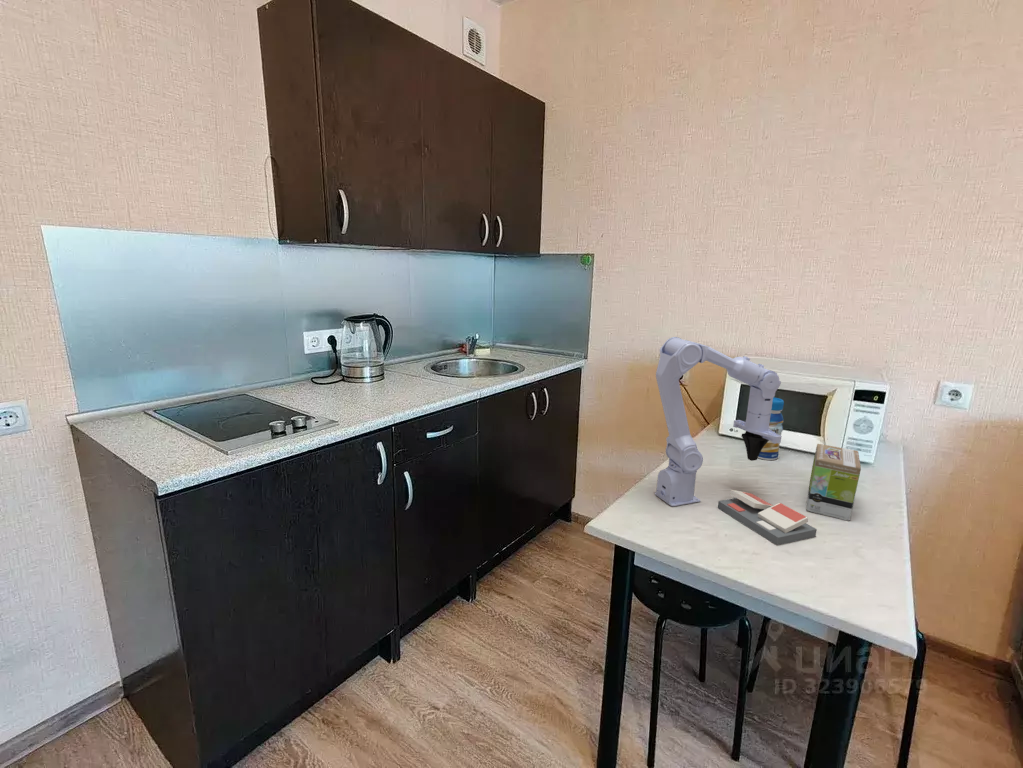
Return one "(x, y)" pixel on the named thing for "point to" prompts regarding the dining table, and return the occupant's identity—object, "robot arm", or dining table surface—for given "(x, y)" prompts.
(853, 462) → the tea box
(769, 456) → the beverage bottle
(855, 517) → the dining table surface
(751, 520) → the switch panel
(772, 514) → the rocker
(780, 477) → the dining table surface
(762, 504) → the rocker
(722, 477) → the dining table surface
